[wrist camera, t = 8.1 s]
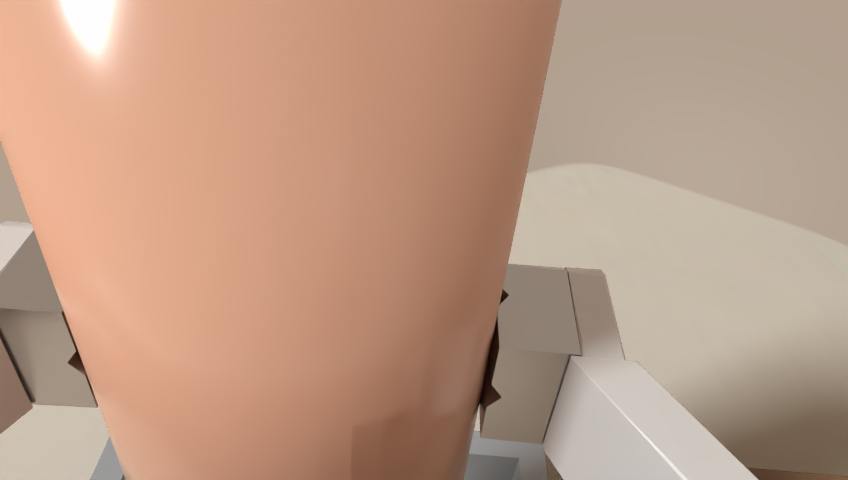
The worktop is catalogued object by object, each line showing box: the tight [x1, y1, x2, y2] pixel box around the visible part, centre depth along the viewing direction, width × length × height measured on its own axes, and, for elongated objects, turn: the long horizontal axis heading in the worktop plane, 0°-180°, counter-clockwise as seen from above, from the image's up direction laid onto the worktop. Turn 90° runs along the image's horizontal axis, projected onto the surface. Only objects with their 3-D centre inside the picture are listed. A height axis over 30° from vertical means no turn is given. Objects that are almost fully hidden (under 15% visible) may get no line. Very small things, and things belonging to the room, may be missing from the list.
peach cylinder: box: [0, 0, 562, 480], centre depth 10 cm, size 5×5×14 cm
